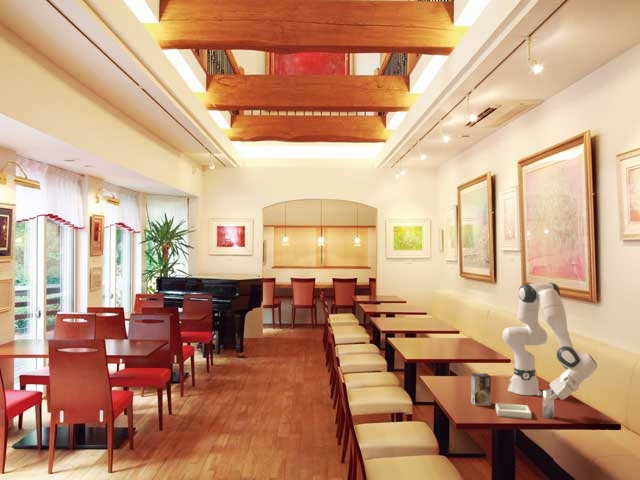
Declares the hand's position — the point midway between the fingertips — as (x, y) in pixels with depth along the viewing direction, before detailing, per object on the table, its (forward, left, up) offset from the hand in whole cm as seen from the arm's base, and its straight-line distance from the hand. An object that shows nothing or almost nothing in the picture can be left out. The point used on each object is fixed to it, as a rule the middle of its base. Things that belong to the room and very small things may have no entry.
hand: (548, 398), depth 257 cm
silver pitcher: (0, -1, -9) cm, 9 cm away
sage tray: (0, -17, -9) cm, 19 cm away
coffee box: (-13, -32, -10) cm, 36 cm away
